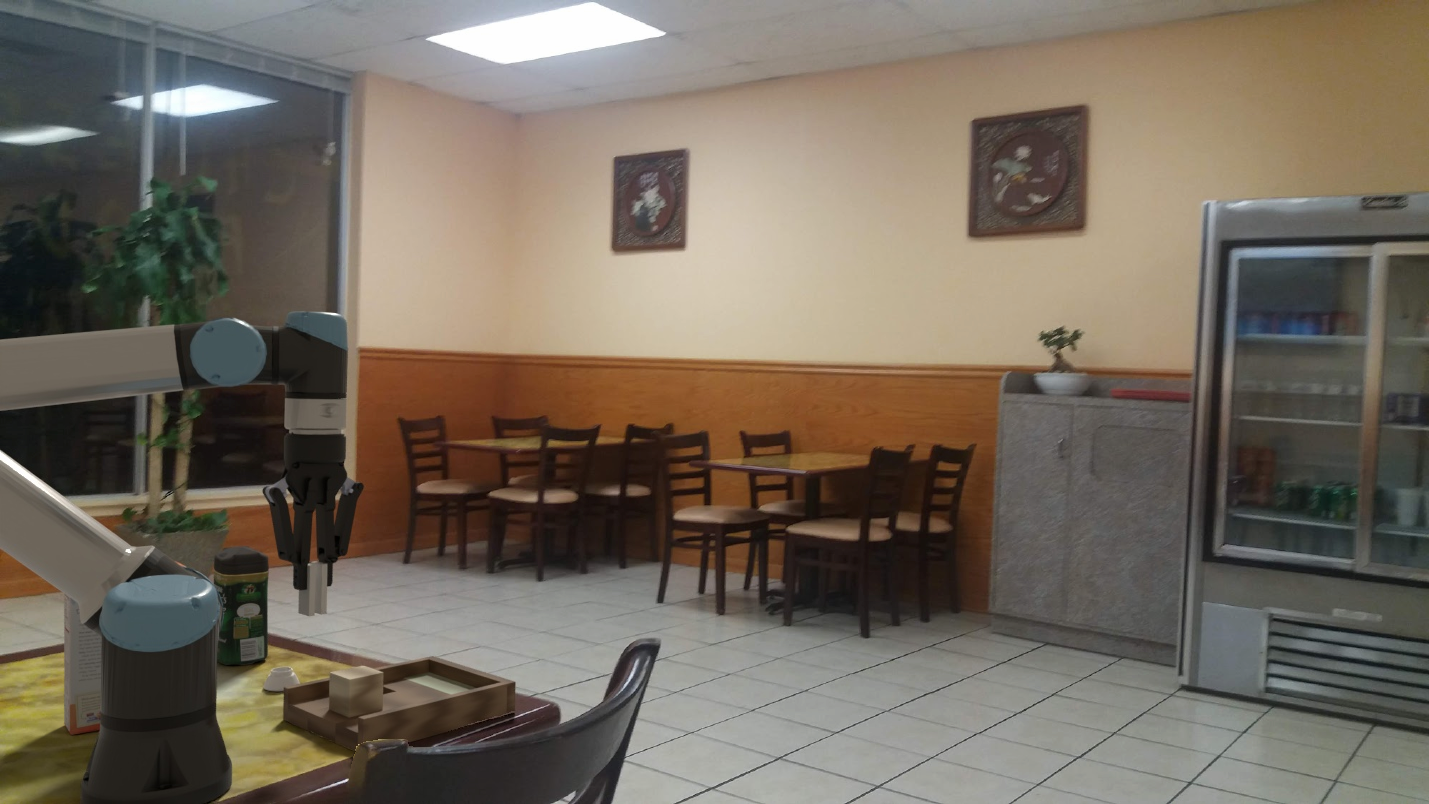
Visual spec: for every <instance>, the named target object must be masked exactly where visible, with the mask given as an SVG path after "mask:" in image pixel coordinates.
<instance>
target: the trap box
mask: <svg viewBox="0 0 1429 804" xmlns="http://www.w3.org/2000/svg"><path fill="white" fill-rule="evenodd" d="M372 669H375V670H378V671H381V672H383V709H382V710H378V711H374V712H370V713H366V714H362V715H358V716H353V717H346V716H344V715H342V714H339V713H337V712H334V711H332V710H329V682H330V676H329V677H326V678H321V679H316V680H312V681H311V680H310V681H306V682H301V683H300V684H296V685H291V686H286V687H284V691H283V707H282V709H283V710H282V712H283V714H282V719H283V721H285V722H287V723H290V724H292V725H294V726H297V727H298V728H301V729H303V730H306V731H308V732H310V733H312V734H314V735H316V736H319V737H321V738H323V739H325V740H327V741H330V742H332V743H335V744H337V745H340V746H341V747H344V748H346V749H348V750H350V751H353V752H355V749H356V746H358V744H361V743H363V742H366V741H373V740H378V739H407V740H408V741H409V743H412V742H416V741H419V740H420V741H421V740H423V739H427V738H430V737H433V736H437V735H440V734H445V733H448V731H449V732H452V731H455V730H454V729H456V730H459V729H458V728H459V727H462V726H466V725H468V724H471V723H475V722H477V721H482V720H485V719H489V718H492V717H494V716H501V715H503V714H506V713H509V712H511V711H515V712H516V688H517V687H516V685H517V683H516V681H514V680H511V679H508V678H504V677H501V676H497V675H495V674H491V673H489V672H486V671H482V670H479V669H475V668H472V667H470V666H466V665H463V664H459V663H456V662H453V661H450V660H447V659H443V658H441V657H437V656H434V655H430V656H427V657H421V658H416V659H412V660H408V661H407V660H406V661H403V662H398V663H393V664H388V665H383V666H377V667H374V668H373V667H372ZM451 730H452V731H451Z"/></svg>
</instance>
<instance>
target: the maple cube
mask: <svg viewBox="0 0 1429 804" xmlns="http://www.w3.org/2000/svg"><path fill="white" fill-rule="evenodd" d="M329 677H330V682H329V710H332V711H334V712H337V713H339V714H342V715H344V716H346V717H353V716H358V715H362V714H366V713H370V712H374V711H378V710H382V709H383V672H381V671H378V670H375V669H373V667H369V666H365V665H360V666H353V667H349V668H343V669H339V670H334V671H331V672H329Z"/></svg>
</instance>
